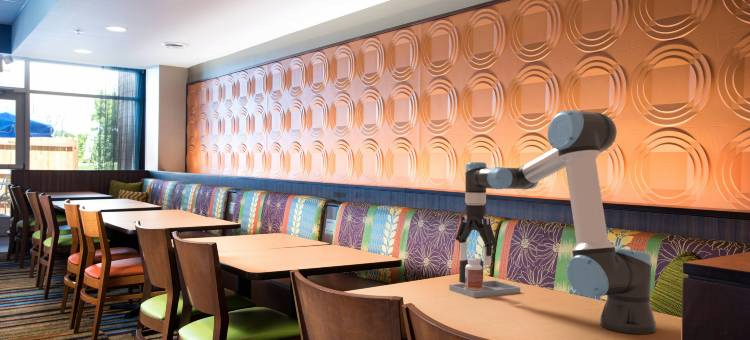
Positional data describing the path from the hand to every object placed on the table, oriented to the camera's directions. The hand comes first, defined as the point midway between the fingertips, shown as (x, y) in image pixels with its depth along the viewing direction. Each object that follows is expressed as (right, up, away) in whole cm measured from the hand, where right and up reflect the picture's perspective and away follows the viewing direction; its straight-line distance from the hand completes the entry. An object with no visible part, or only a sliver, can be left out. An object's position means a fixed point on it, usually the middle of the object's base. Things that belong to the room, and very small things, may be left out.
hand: (474, 262), depth 215 cm
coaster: (-1, -11, 0) cm, 11 cm away
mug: (+1, -12, +22) cm, 25 cm away
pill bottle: (0, -10, +1) cm, 10 cm away
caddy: (+4, -12, +3) cm, 13 cm away
